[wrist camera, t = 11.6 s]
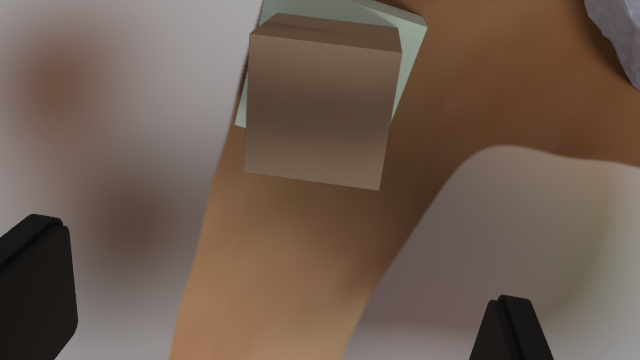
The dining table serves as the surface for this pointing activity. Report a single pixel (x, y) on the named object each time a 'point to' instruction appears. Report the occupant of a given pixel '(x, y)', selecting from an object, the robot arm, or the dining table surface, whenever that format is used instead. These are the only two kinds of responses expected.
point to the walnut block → (320, 99)
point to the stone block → (620, 31)
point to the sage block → (356, 6)
